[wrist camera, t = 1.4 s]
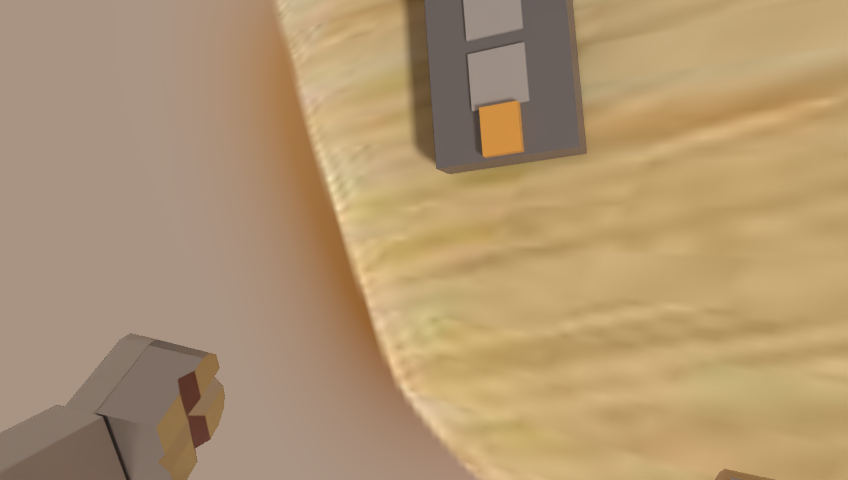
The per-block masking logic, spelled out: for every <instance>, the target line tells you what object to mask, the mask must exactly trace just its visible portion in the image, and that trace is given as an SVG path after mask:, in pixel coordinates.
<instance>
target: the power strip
mask: <svg viewBox="0 0 848 480" xmlns="http://www.w3.org/2000/svg"><path fill="white" fill-rule="evenodd" d="M424 4H425V17H426V31H427V45H428V59H429V73H430V87H431V101H432V115H433V129H434V143H435V157H436V169H438V170H441V171H443V172H445V173H448V174H453V173H459V172H466V171H473V170H479V169H486V168H493V167H499V166H506V165H513V164H519V163H526V162H533V161H539V160H546V159H553V158H559V157H566V156H573V155H579V154H586V153H587V150H586V140H585V129H584V118H583V108H582V97H581V86H580V76H579V65H578V54H577V44H576V33H575V22H574V12H573V1H572V0H424Z"/></svg>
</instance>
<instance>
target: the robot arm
mask: <svg viewBox="0 0 848 480" xmlns="http://www.w3.org/2000/svg"><path fill="white" fill-rule="evenodd" d="M218 370H219V363H218V360H217V356H216V354H212V353H208V352H204V351H200V350H196V349H192V348H188V347H185V346H181V345H176V344H172V343H168V342H164V341H160V340H157V339H153V338H149V337H144V336H140V335H136V334H132V333H130V334H129V335H127V336H125V337H123V338H122V339H120V340H119V342H118V343H117V344H116V345H115V346H114V348H113V349H112V350H111V351H110V352H109V354H108V355H107V356H106V357H105V358H104V360H103V361H102V362H101V363H100V365H99V366H98V367H97V368H96V369H95V371H94V372H93V373H92V374H91V376H90V377H89V378H88V379H87V380H86V381H85V383H84V384H83V385H82V386H81V388H80V389H79V390H78V391H77V392H76V394H75V395H74V396H73V397H72V398H71V400H70V401H69V402H68V403H67V404H66V406H60V405H55V406H53V407H51V408H49V409H47V410H45V411H43V412H41V413H39V414H38V415H35V416H33V417H31V418H29V419H27V420H25V421H23V422H21V423H19V424H17V425H15V426H13V427H11V428H9V429H7V430H5V431H3V432H1V433H0V480H187V478H188V477H189V475H190V473H191V472H192V470H193V468H194V467H195V465H196V463H197V456H196V450H195V448H197V447H198V446H200V445H202V444H203V443H205V442H207V441H209V440H210V439H211V437H212V436H213V434H214V432H215V430H216V428H217V427H218V425H219V422H220V419H221V415H222V412H223V409H224V399H225V394H224V388H223V385H222V384H221V383H220V382H219V381H218V380H217V379H216V378H215V375H216V373H217V371H218ZM715 480H774V479H769V478H765V477H760V476H755V475H751V474H746V473H741V472H737V471H732V470H727V469H724V470H722V471H721V472H719V474H718V476H717V477H716V479H715Z"/></svg>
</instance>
